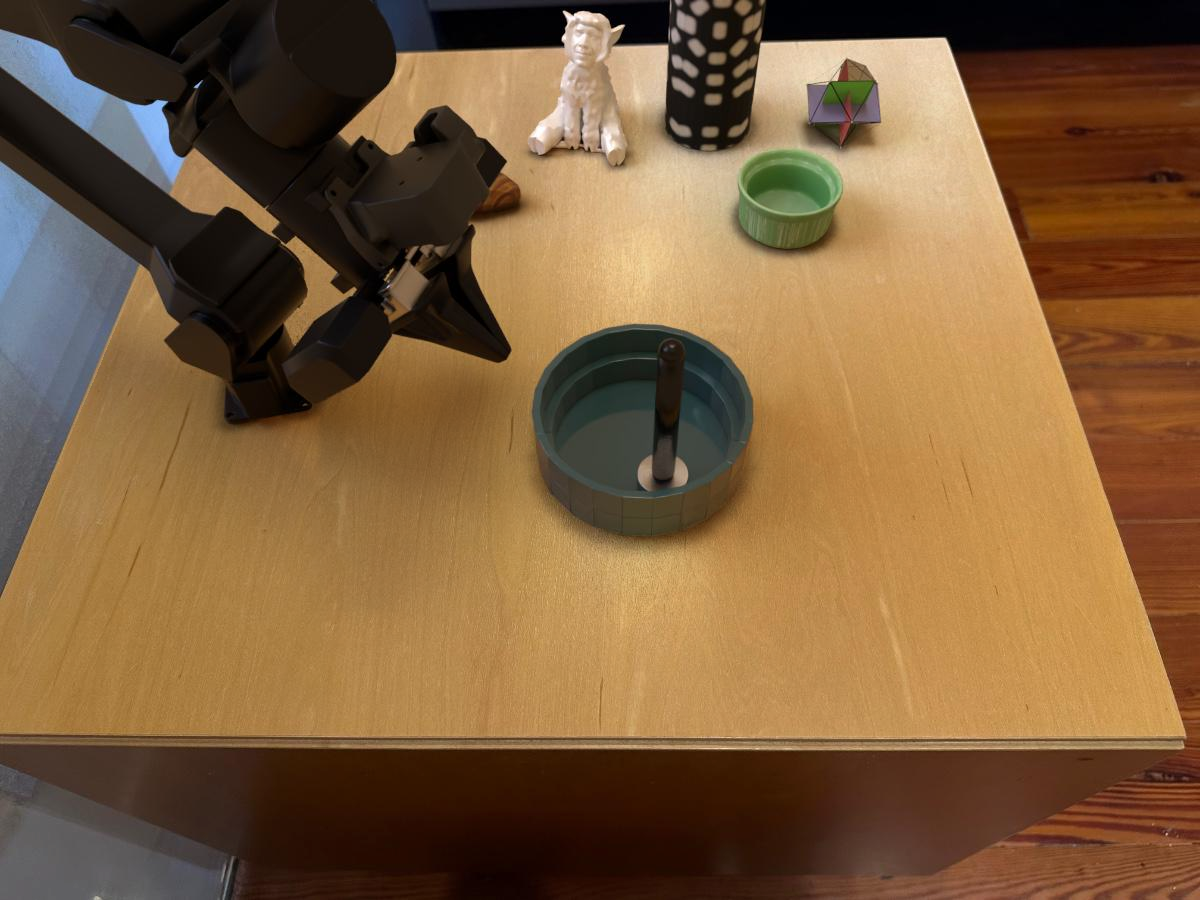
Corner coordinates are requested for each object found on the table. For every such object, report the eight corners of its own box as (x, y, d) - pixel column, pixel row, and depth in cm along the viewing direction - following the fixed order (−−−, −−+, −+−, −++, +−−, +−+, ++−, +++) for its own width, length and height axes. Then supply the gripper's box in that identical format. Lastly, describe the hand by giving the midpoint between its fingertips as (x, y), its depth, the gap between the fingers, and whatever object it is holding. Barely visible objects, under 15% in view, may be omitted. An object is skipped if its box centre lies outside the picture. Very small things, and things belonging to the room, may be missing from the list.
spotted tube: (752, 151, 88) (782, -66, 71) (665, 151, 88) (675, -65, 72) (746, 99, 92) (773, -115, 76) (663, 99, 93) (673, -115, 76)
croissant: (367, 219, 83) (354, 174, 79) (388, 171, 87) (377, 126, 83) (514, 232, 82) (508, 187, 77) (528, 183, 85) (524, 137, 81)
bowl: (523, 389, 71) (517, 341, 67) (713, 358, 73) (719, 309, 68) (556, 558, 63) (552, 516, 58) (771, 519, 64) (782, 475, 60)
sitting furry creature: (526, 155, 88) (515, 37, 78) (549, 103, 93) (541, -15, 83) (623, 168, 86) (624, 50, 77) (641, 114, 91) (644, -4, 81)
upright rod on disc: (629, 472, 65) (631, 329, 53) (675, 457, 66) (688, 313, 54) (647, 512, 63) (654, 374, 51) (695, 497, 64) (714, 356, 52)
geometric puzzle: (887, 147, 84) (895, 53, 82) (812, 148, 84) (818, 53, 82) (866, 148, 91) (873, 61, 89) (797, 148, 91) (802, 61, 89)
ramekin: (774, 174, 86) (781, 134, 82) (854, 218, 82) (865, 178, 78) (712, 221, 82) (716, 181, 78) (792, 270, 78) (801, 230, 75)
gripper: (267, 225, 39) (525, 448, 46) (456, -1, 49) (645, 210, 56) (180, 307, 47) (411, 486, 54) (357, 99, 57) (533, 272, 64)
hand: (505, 357), depth 56 cm, fingers closed
